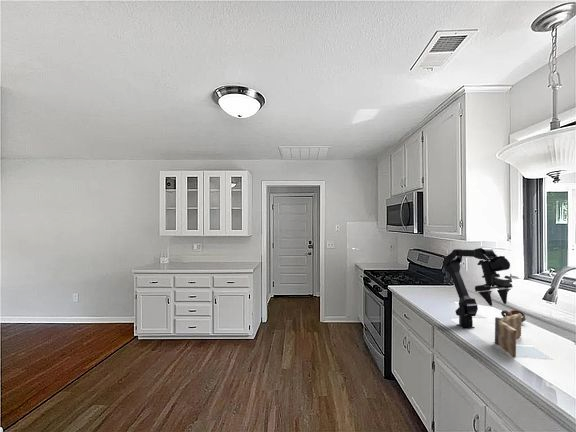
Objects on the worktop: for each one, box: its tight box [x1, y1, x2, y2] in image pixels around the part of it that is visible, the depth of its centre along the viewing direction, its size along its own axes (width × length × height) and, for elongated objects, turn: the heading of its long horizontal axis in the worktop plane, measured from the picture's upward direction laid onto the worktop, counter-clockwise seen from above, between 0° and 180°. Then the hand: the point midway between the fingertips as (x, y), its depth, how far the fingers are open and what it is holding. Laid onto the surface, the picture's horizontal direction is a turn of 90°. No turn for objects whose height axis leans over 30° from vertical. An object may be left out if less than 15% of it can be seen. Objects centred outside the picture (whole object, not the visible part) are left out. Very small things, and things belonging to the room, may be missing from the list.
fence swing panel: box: [500, 313, 523, 339], centre depth 167 cm, size 19×1×11 cm, turn 121°
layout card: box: [491, 341, 554, 361], centre depth 154 cm, size 17×17×1 cm
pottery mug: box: [500, 309, 526, 324], centre depth 197 cm, size 12×10×8 cm
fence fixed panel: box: [494, 316, 517, 358], centre depth 154 cm, size 17×2×12 cm, turn 171°
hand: (498, 304), depth 168 cm, fingers open, 9 cm apart
